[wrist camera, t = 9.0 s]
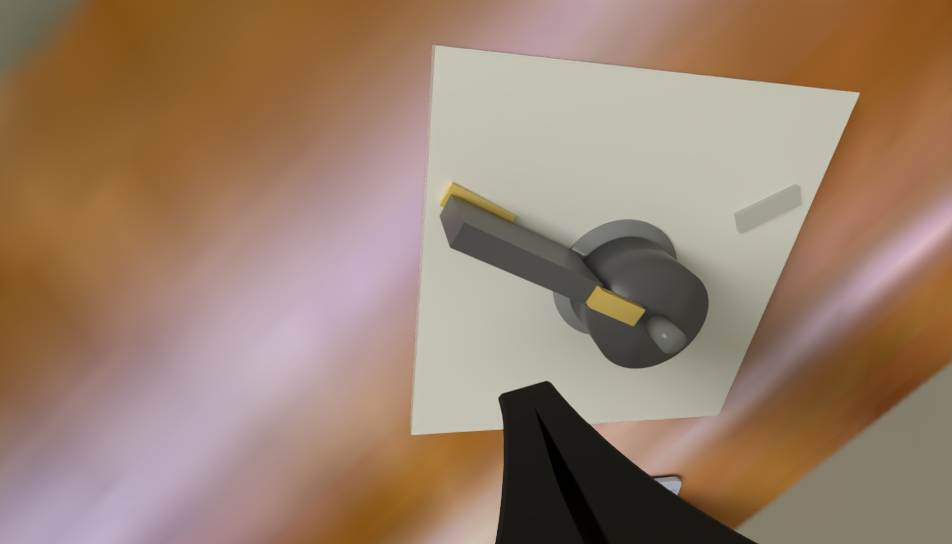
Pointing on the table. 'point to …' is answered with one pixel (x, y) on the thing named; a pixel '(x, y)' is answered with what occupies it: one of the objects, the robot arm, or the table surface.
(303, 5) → the table surface
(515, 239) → the door lever handle
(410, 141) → the table surface
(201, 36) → the table surface
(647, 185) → the plate and post
